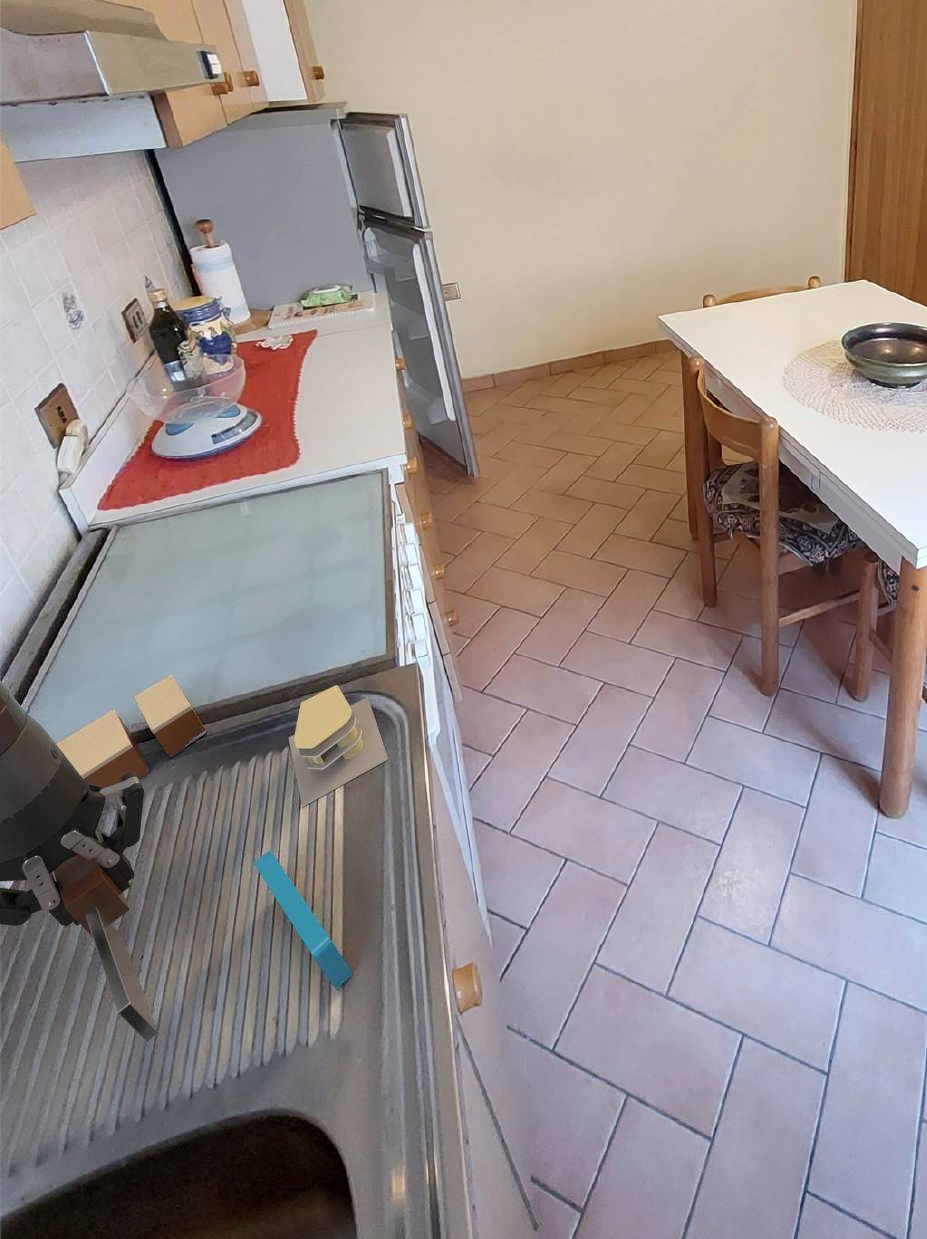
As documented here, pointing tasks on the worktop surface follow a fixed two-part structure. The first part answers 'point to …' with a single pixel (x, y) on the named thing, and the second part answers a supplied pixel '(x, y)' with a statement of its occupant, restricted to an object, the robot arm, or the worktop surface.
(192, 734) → the cream topped brown block
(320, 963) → the long teal plank
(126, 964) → the knife
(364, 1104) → the worktop surface
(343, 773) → the stacked layers on plate
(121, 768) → the cake
